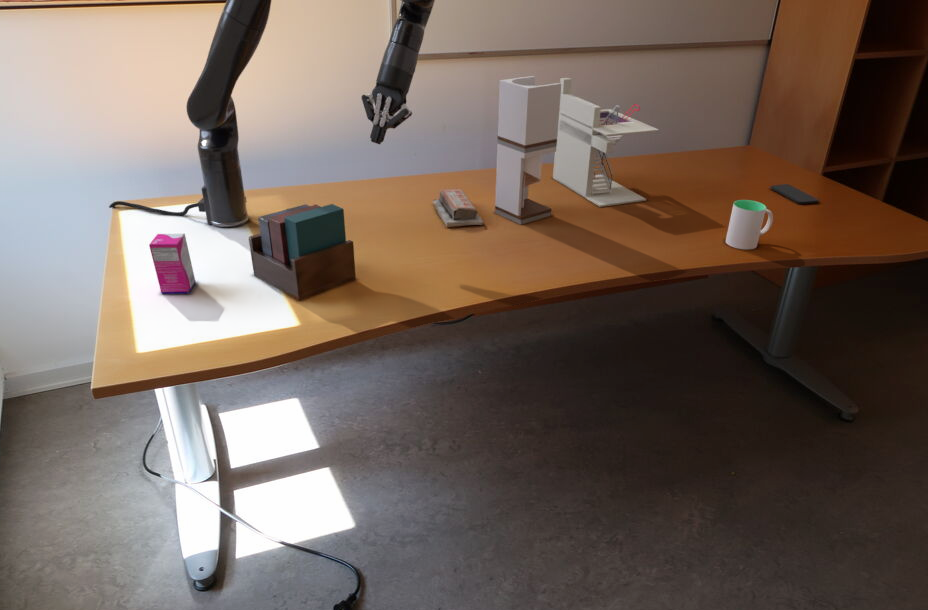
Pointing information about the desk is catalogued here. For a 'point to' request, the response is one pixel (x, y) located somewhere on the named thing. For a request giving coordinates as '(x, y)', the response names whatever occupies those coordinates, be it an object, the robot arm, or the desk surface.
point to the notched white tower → (524, 144)
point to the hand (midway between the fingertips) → (375, 142)
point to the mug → (747, 224)
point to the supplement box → (172, 263)
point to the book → (314, 230)
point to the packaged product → (456, 208)
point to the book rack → (298, 259)
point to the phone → (794, 194)
